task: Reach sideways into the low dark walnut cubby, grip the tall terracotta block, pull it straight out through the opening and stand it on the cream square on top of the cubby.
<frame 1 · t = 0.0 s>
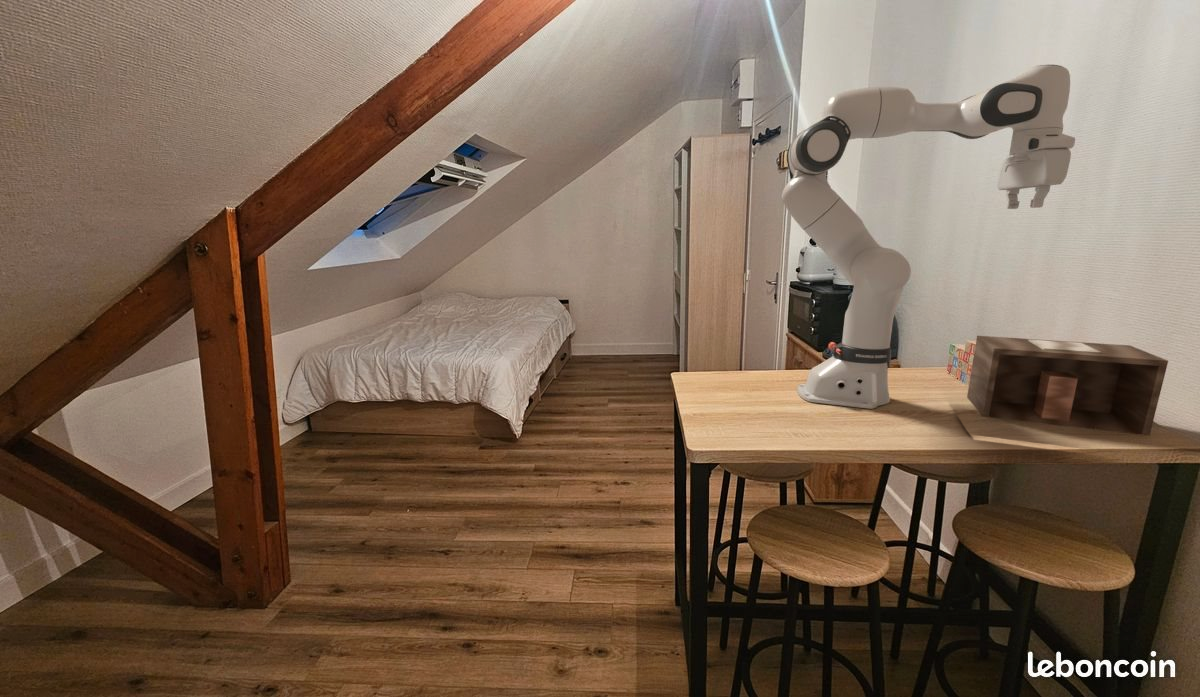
hand: (1023, 208, 122), 48 cm above the table, tool pointing down, fingers open, 8 cm apart
cubby: (1049, 419, 123), on the table
stack of blocks: (973, 384, 151), on the table
terracotta block: (1050, 415, 122), point 1 cm above the table, touching cubby
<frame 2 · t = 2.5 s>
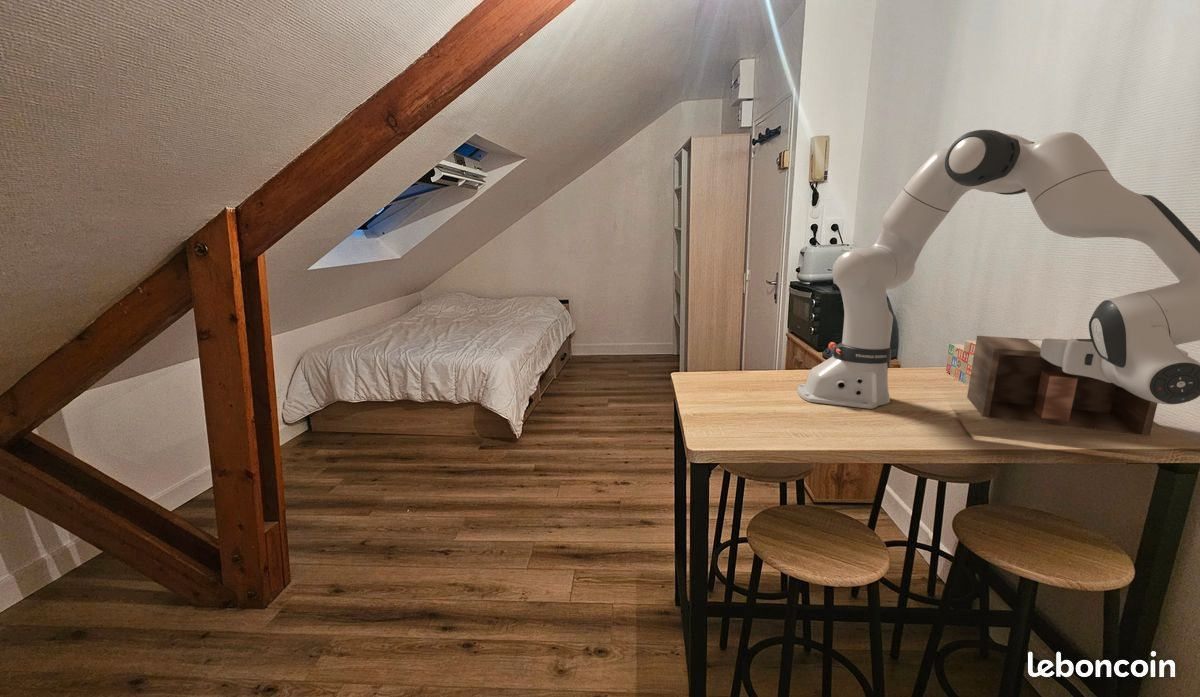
hand: (1091, 345, 107), 20 cm above the table, tool horizontal, fingers open, 8 cm apart
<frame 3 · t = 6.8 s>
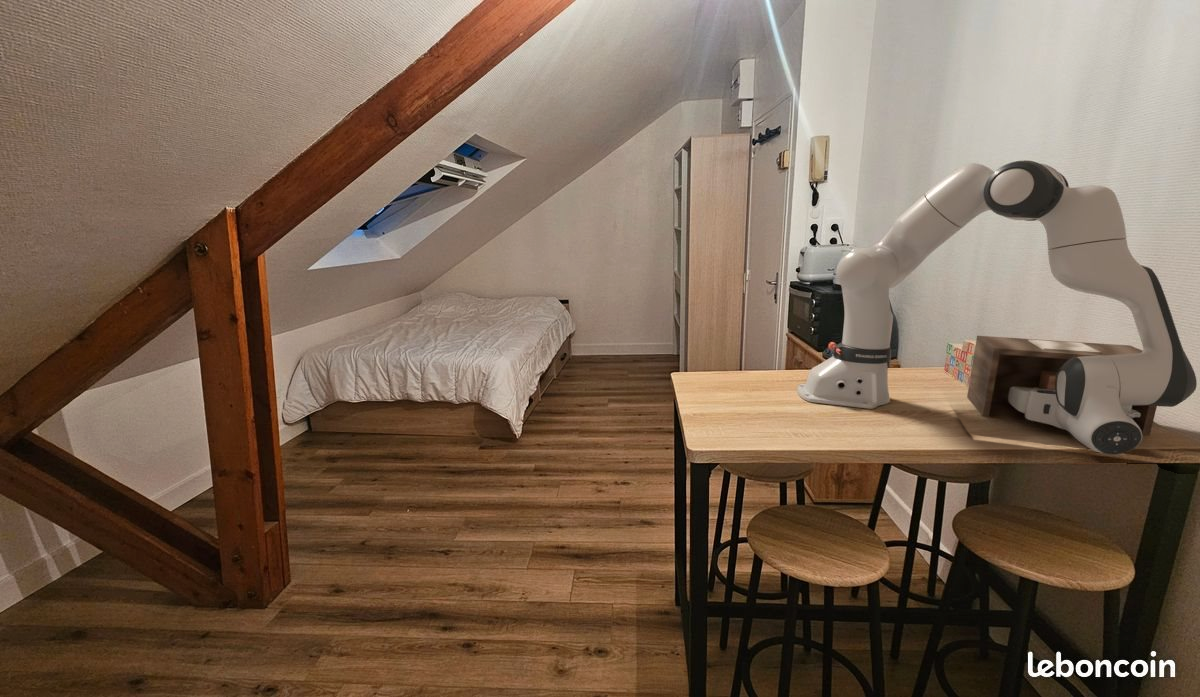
hand: (1054, 392, 122), 7 cm above the table, tool horizontal, fingers closed on terracotta block, 5 cm apart
terracotta block: (1050, 415, 122), point 1 cm above the table, touching cubby, gripper
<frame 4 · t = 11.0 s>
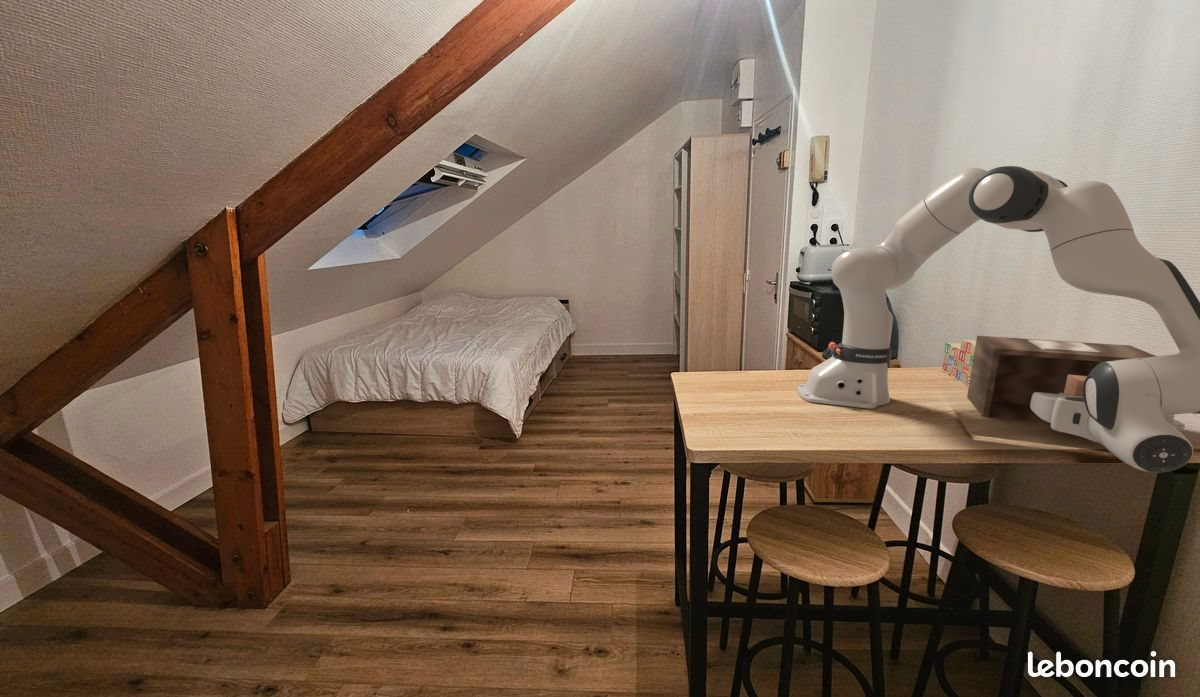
hand: (1081, 398, 109), 9 cm above the table, tool horizontal, fingers closed on terracotta block, 5 cm apart
terracotta block: (1078, 425, 109), point 4 cm above the table, touching gripper
when the fingers open (24 cm above the table, at t = 14.9 s): terracotta block drops 1 cm, resting on cubby.
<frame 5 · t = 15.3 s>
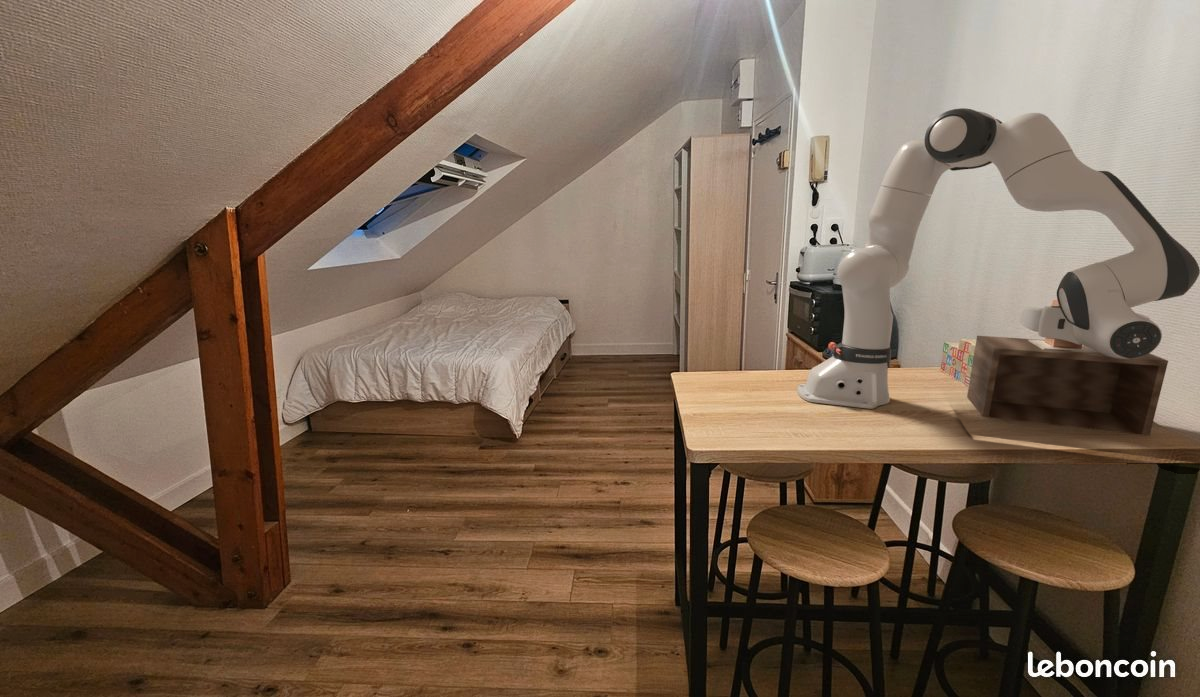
hand: (1067, 314, 118), 24 cm above the table, tool horizontal, fingers open, 8 cm apart
terracotta block: (1062, 345, 119), point 17 cm above the table, touching cubby
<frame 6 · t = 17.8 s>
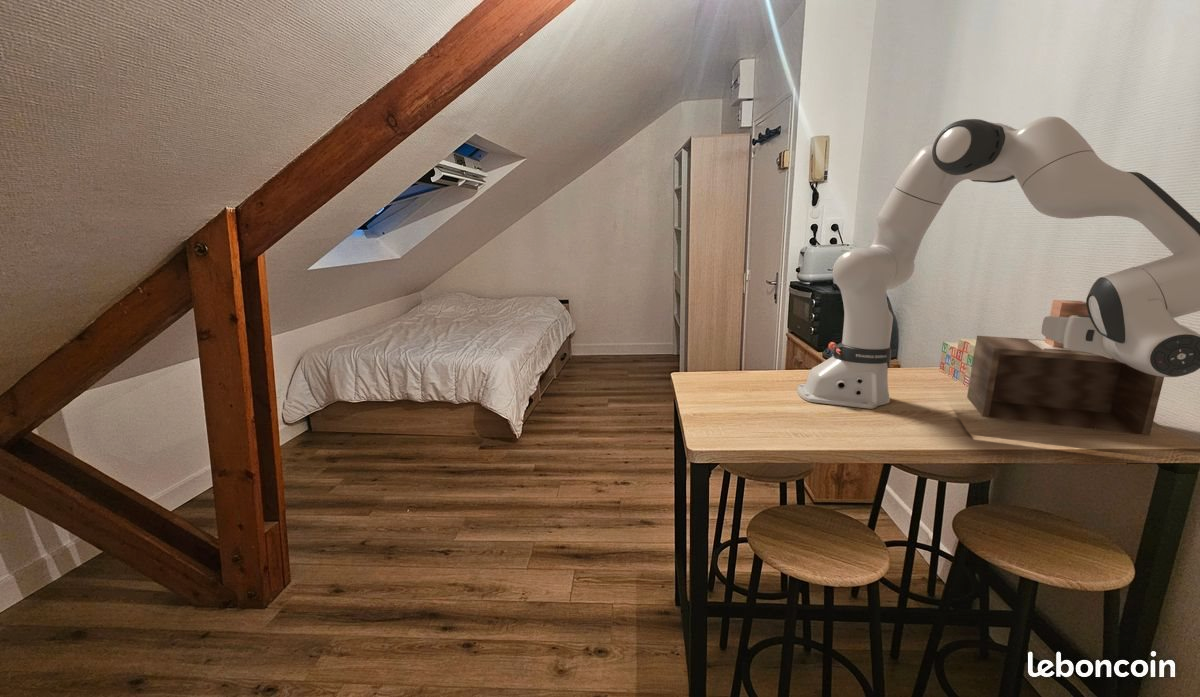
hand: (1093, 323, 107), 25 cm above the table, tool horizontal, fingers open, 8 cm apart
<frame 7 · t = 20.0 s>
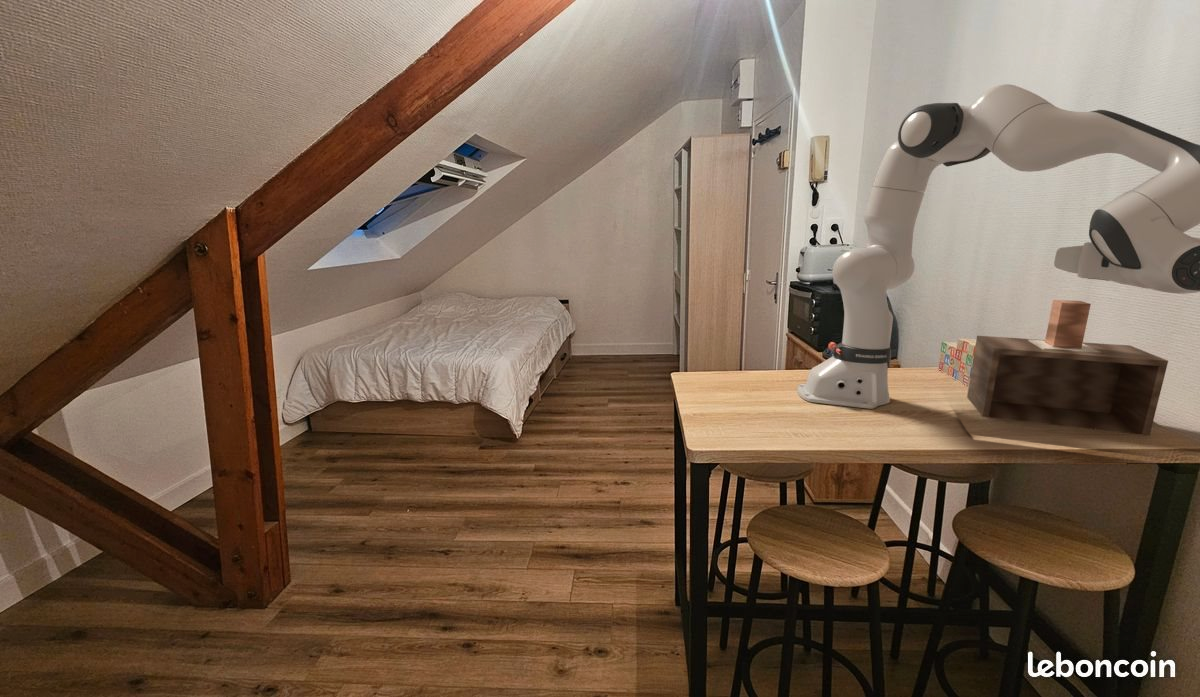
hand: (1107, 257, 104), 38 cm above the table, tool horizontal, fingers open, 8 cm apart
at the end: terracotta block inside the target area on the cubby (0.1 cm from its centre), point 17.5 cm above the cubby's base; terracotta block tilted 0°; the gripper is holding nothing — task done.
